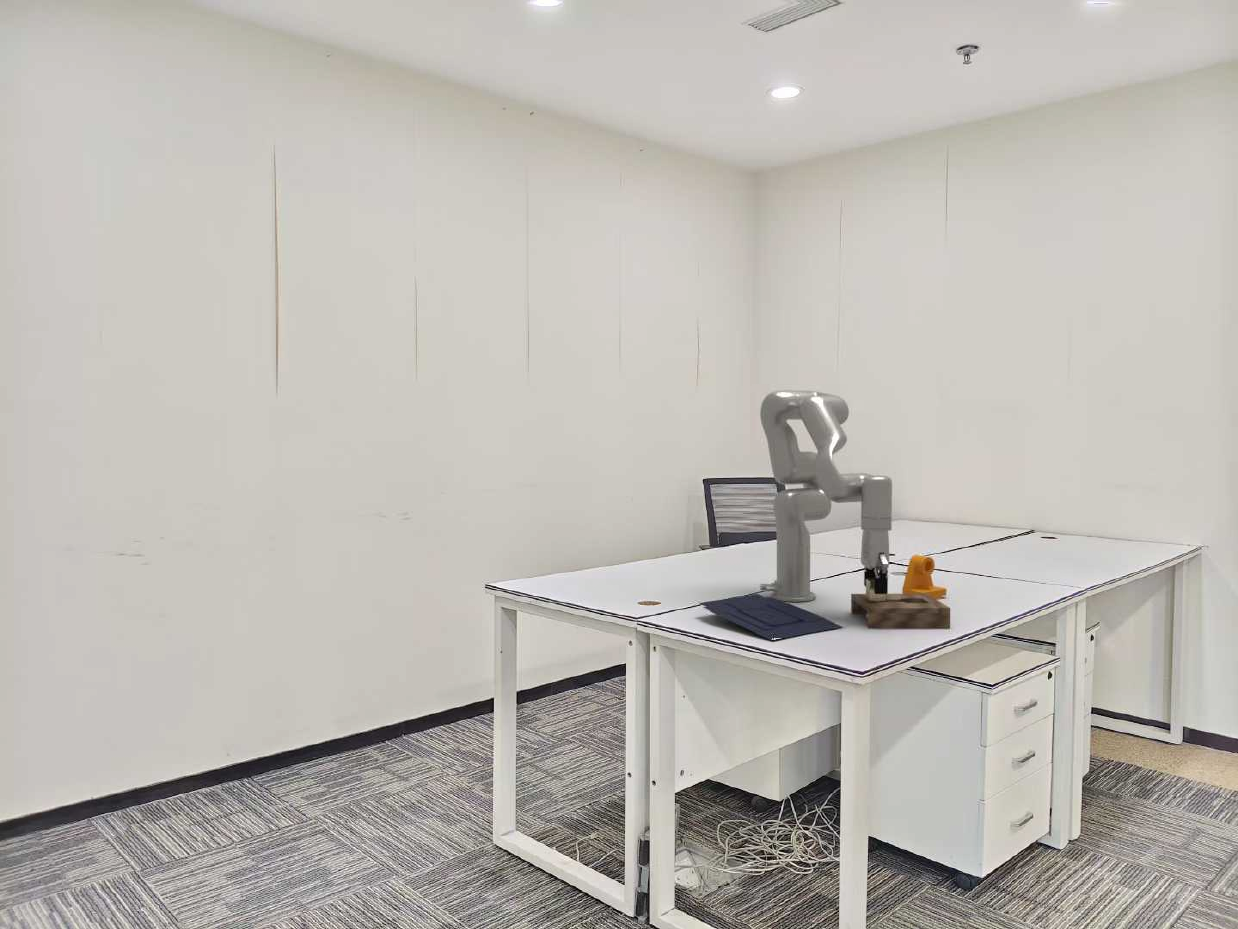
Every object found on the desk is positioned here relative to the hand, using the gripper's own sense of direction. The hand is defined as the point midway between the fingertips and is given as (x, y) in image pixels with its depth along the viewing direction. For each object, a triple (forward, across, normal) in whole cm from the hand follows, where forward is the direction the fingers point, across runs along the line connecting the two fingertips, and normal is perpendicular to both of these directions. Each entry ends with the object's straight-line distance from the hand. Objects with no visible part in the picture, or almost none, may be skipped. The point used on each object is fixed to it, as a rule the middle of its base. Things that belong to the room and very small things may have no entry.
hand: (875, 590), depth 230 cm
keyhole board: (+8, 0, +6) cm, 10 cm away
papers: (+8, +3, -28) cm, 30 cm away
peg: (+8, 0, 0) cm, 8 cm away
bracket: (+8, -28, +22) cm, 37 cm away
